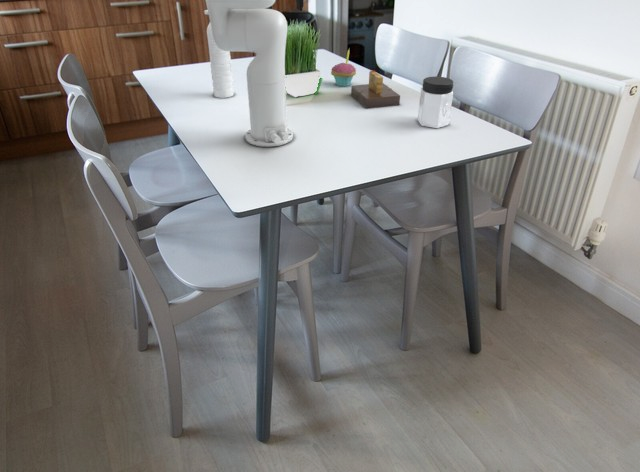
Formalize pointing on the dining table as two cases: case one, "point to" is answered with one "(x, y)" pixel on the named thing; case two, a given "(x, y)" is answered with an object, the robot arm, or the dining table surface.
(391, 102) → the plate
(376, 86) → the tap handle
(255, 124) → the robot arm
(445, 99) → the jar
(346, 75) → the cupcake
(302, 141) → the dining table surface
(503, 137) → the dining table surface
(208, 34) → the water bottle
